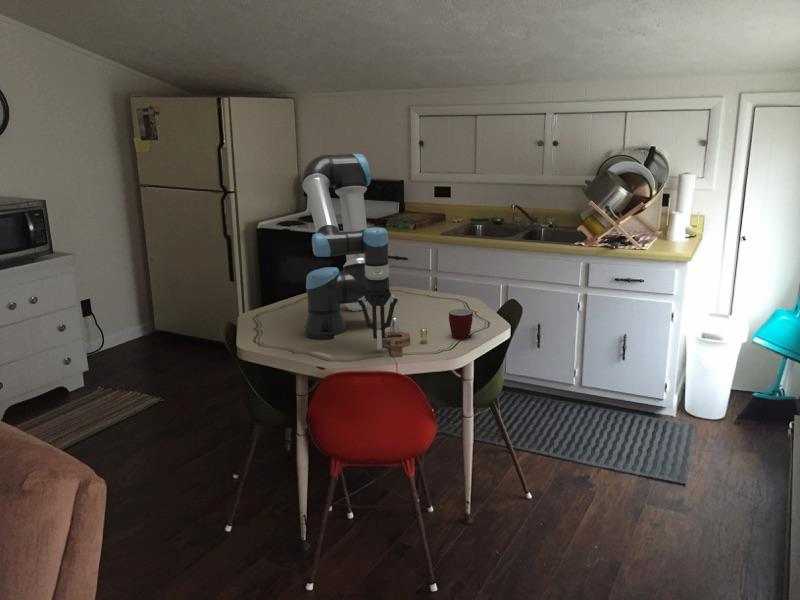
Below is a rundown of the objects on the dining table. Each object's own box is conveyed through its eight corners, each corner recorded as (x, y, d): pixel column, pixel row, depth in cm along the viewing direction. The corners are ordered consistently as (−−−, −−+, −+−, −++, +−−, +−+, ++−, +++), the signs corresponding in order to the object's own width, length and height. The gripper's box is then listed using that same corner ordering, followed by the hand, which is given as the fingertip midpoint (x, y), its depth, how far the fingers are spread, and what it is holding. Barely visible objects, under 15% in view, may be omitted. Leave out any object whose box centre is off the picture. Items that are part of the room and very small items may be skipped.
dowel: (419, 343, 232) (419, 329, 230) (423, 341, 234) (422, 327, 232) (424, 344, 231) (424, 330, 229) (428, 342, 232) (428, 328, 231)
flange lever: (379, 338, 237) (379, 329, 236) (408, 337, 237) (408, 328, 236) (381, 357, 220) (380, 346, 219) (412, 355, 220) (412, 345, 219)
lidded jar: (340, 312, 274) (339, 289, 271) (345, 305, 284) (344, 283, 281) (367, 313, 272) (366, 290, 270) (371, 305, 283) (370, 283, 280)
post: (388, 343, 232) (387, 318, 230) (394, 341, 234) (393, 316, 232) (395, 345, 230) (395, 319, 228) (401, 342, 233) (400, 317, 230)
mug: (447, 334, 244) (447, 307, 241) (469, 333, 244) (470, 306, 242) (450, 344, 234) (450, 315, 231) (473, 343, 234) (474, 315, 231)
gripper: (356, 280, 214) (359, 352, 220) (398, 279, 215) (400, 350, 221) (356, 275, 221) (359, 345, 227) (396, 273, 222) (398, 343, 228)
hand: (379, 347), depth 224 cm, fingers closed
